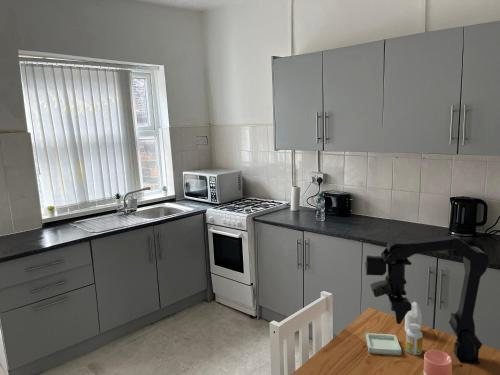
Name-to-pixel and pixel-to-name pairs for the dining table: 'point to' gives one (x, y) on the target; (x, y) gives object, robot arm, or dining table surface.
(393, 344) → the tray
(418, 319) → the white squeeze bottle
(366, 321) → the dining table surface
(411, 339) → the supplement bottle
